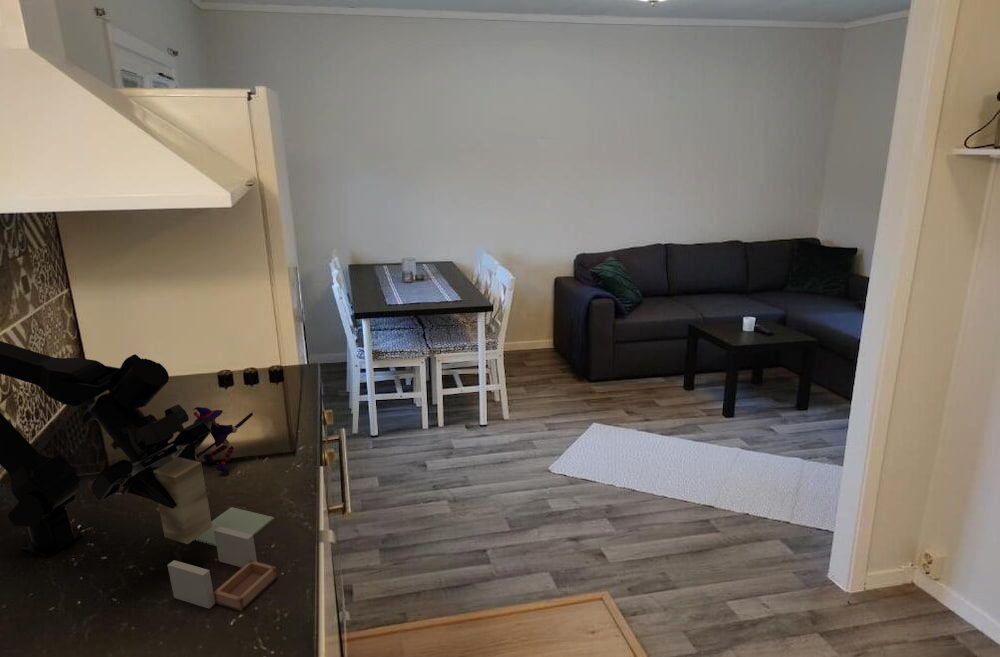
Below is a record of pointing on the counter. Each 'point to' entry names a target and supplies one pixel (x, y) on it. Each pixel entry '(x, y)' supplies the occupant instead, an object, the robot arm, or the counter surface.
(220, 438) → the toy
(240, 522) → the green mat
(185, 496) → the beech post
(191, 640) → the counter surface
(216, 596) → the tray
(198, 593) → the channel
